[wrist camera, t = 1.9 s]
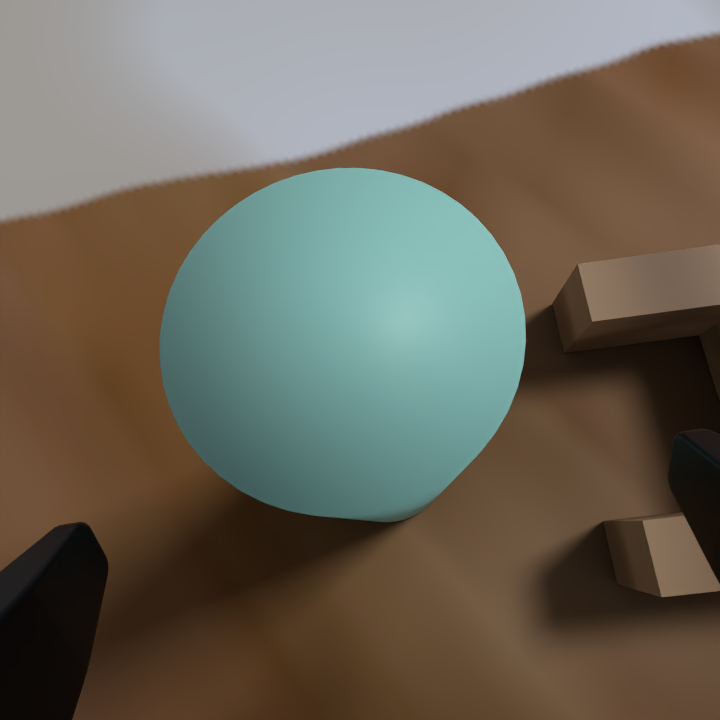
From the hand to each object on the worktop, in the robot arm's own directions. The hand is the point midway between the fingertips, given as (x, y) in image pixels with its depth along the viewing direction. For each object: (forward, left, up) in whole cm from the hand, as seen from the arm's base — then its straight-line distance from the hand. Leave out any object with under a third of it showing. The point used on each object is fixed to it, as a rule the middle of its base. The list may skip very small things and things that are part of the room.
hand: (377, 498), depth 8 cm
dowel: (+1, -1, -9) cm, 10 cm away
